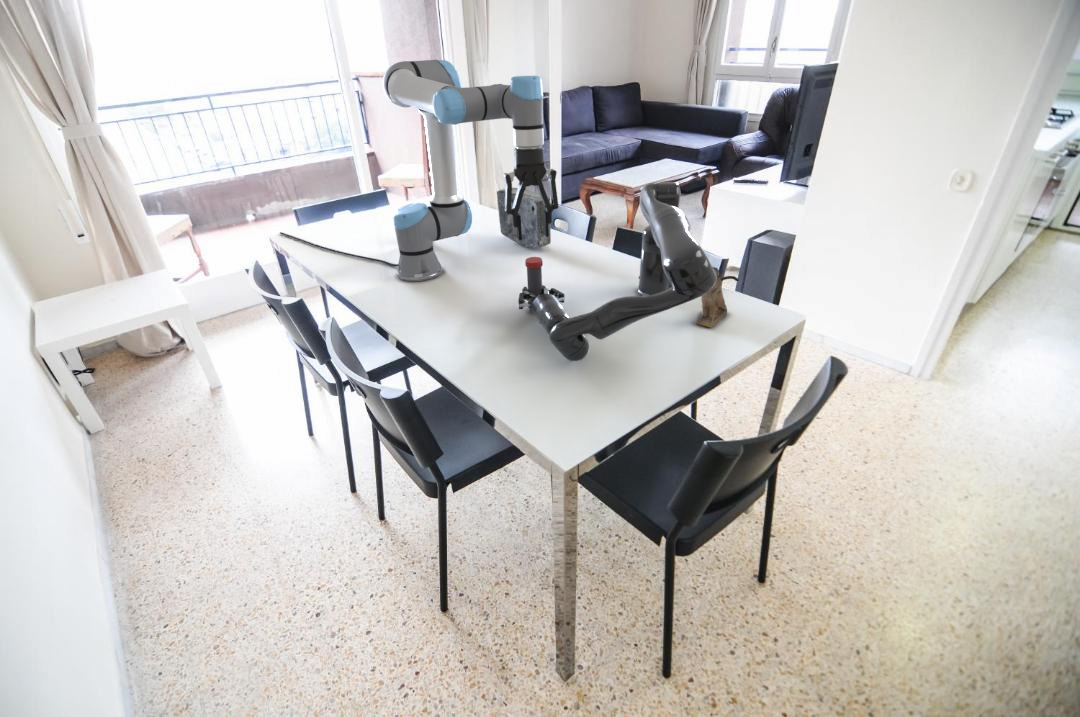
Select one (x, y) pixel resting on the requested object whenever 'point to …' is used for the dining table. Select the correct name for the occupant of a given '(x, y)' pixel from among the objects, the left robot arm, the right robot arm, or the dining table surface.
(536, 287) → the jar
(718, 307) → the worn brown figurine
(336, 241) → the dining table surface
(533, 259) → the lid
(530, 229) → the concrete block
